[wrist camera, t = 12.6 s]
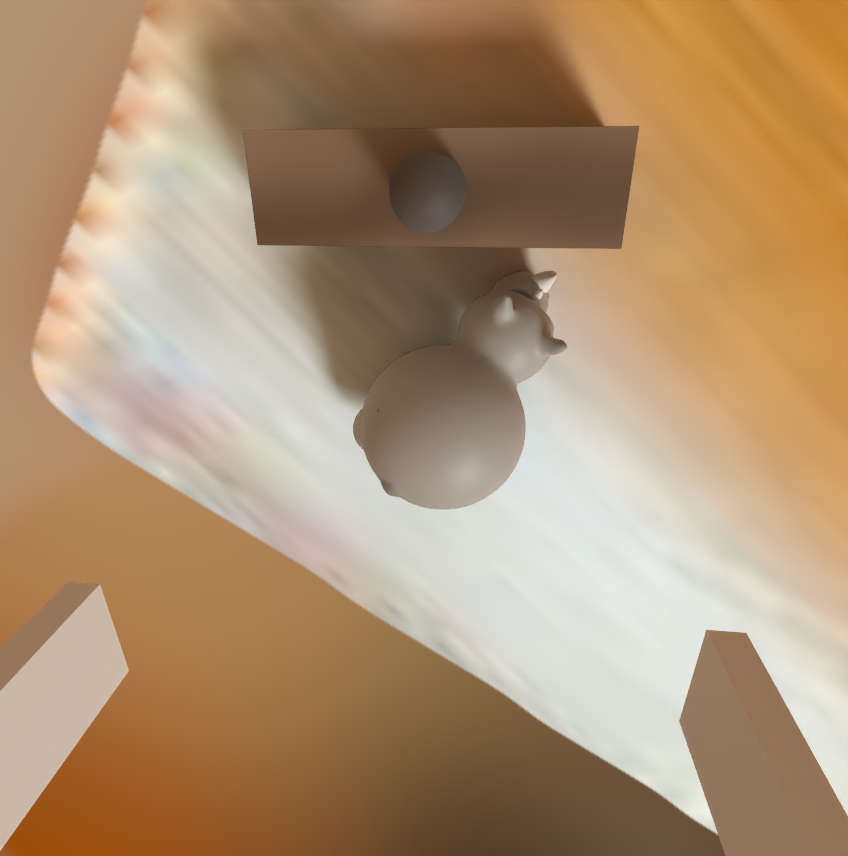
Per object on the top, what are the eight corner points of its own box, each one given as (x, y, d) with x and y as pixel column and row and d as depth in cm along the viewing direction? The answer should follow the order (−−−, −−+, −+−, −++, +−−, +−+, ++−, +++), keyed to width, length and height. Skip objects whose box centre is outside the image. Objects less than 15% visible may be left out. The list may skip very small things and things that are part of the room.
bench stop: (287, 137, 24) (204, 123, 17) (608, 134, 23) (665, 118, 16) (296, 231, 26) (225, 255, 19) (596, 234, 25) (642, 260, 18)
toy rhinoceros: (570, 329, 29) (661, 323, 21) (436, 506, 30) (474, 568, 21) (468, 242, 28) (523, 198, 20) (328, 429, 28) (324, 463, 20)
